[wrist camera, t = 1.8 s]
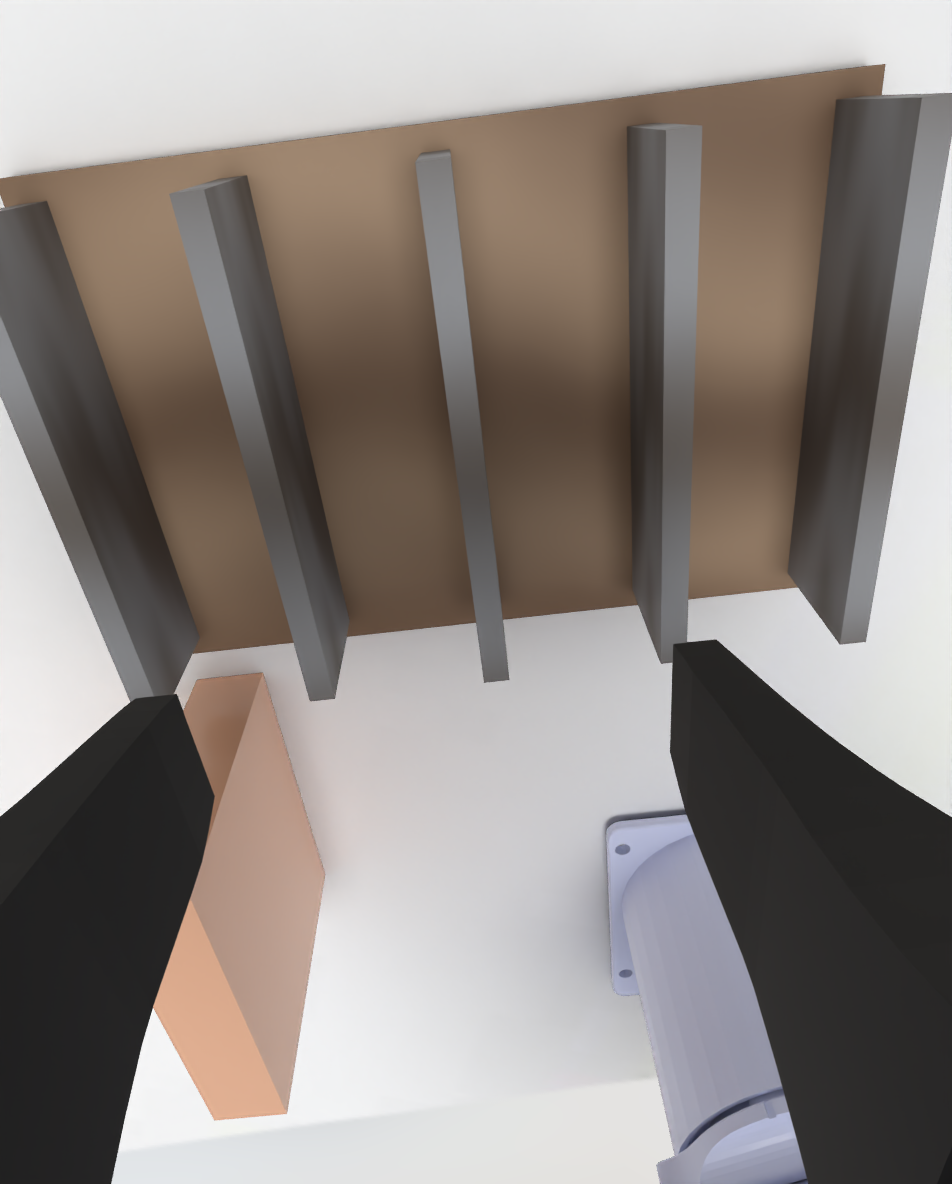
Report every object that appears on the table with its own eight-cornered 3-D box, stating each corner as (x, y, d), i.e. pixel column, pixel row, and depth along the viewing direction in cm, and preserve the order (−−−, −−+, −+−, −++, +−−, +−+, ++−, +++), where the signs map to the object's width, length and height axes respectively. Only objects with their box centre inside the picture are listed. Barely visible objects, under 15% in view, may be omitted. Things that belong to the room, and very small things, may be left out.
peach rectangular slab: (325, 873, 29) (287, 1113, 22) (270, 879, 29) (214, 1120, 22) (262, 672, 24) (189, 896, 17) (197, 679, 24) (98, 905, 17)
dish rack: (807, 570, 23) (875, 657, 19) (181, 639, 23) (132, 736, 20) (867, 66, 17) (984, 53, 13) (12, 176, 17) (-104, 194, 13)
